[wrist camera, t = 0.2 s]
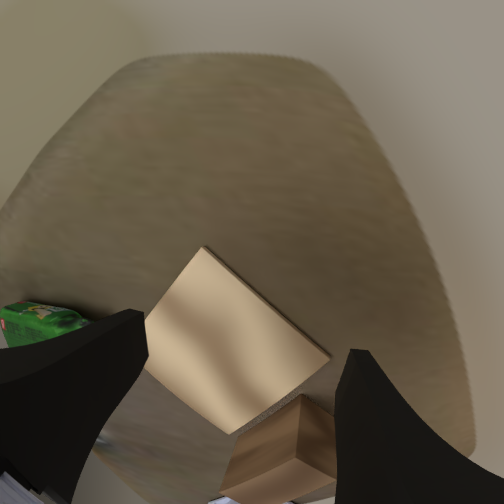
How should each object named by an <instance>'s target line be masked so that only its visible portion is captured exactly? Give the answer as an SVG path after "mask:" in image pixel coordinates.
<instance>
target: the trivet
mask: <svg viewBox="0 0 504 504" xmlns="http://www.w3.org/2000/svg"><path fill="white" fill-rule="evenodd" d="M145 329H146V337H147V344H148V351H149V357H148V359H147V361H146V363H145V365H144V368H145V369H146V370H147V371H148V372H149V373H150V374H152V375H153V376H154V377H155V378H156V379H157V380H158V381H160V382H161V383H162V384H163V385H164V386H165V387H167V388H168V389H169V390H170V391H171V392H172V393H174V394H175V395H176V396H177V397H179V398H180V399H181V400H182V401H184V402H185V403H186V404H187V405H189V406H190V407H191V408H192V409H194V410H195V411H196V412H198V413H199V414H200V415H202V416H203V417H204V418H206V419H207V420H208V421H210V422H211V423H213V424H214V425H215V426H217V427H218V428H220V429H221V430H222V431H224V432H225V433H227V434H228V435H229V434H231V433H232V432H234V431H235V430H237V429H238V428H240V427H241V426H243V425H244V424H246V423H247V422H249V421H250V420H252V419H253V418H255V417H256V416H258V415H259V414H261V413H262V412H263V411H265V410H266V409H268V408H269V407H270V406H272V405H273V404H275V403H276V402H277V401H279V400H280V399H281V398H283V397H284V396H285V395H287V394H288V393H289V392H291V391H292V390H293V389H295V388H296V387H297V386H299V385H300V384H301V383H302V382H304V381H305V380H306V379H307V378H309V377H310V376H311V375H312V374H314V373H315V372H316V371H317V370H319V369H320V368H321V367H322V366H323V365H325V364H326V363H327V362H328V361H329V360H330V356H329V355H328V354H327V353H326V352H325V351H323V350H322V349H321V348H320V347H319V346H317V345H316V344H315V343H314V342H313V341H312V340H310V339H309V338H308V337H307V336H306V335H304V334H303V333H302V332H301V331H300V330H299V329H297V328H296V327H295V326H294V325H293V324H292V323H291V322H289V321H288V320H287V319H286V318H285V317H284V316H282V315H281V314H280V313H279V312H278V311H277V310H276V309H274V308H273V307H272V306H271V305H270V304H269V303H267V302H266V301H265V300H264V299H263V298H262V297H261V296H259V295H258V294H257V293H256V292H255V291H254V290H253V289H252V288H250V287H249V286H248V285H247V284H246V283H245V282H244V281H243V280H241V279H240V278H239V277H238V276H237V275H236V274H235V273H234V272H232V271H231V270H230V269H229V268H228V267H227V266H226V265H225V264H224V263H222V262H221V261H220V260H219V259H218V258H217V257H216V256H215V255H214V254H212V253H211V252H210V251H209V250H208V249H207V248H206V247H205V246H203V247H201V249H200V250H199V251H198V252H197V254H196V255H195V256H194V257H193V259H192V260H191V261H190V262H189V264H188V265H187V266H186V268H185V269H184V270H183V271H182V273H181V274H180V275H179V276H178V278H177V279H176V280H175V282H174V283H173V284H172V286H171V287H170V288H169V289H168V291H167V292H166V293H165V295H164V296H163V297H162V299H161V300H160V301H159V302H158V304H157V305H156V306H155V308H154V309H153V310H152V312H151V313H150V314H149V316H148V317H147V318H146V320H145Z"/></svg>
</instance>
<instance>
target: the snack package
mask: <svg viewBox="0 0 504 504" xmlns="http://www.w3.org/2000/svg"><path fill="white" fill-rule="evenodd" d="M91 323H94V321H93V320H90V319H88V318H82V317H81V315H80V314H78V313H77V312H75V311H73V310H69V309H66V308H60V307H54V306H49V305H44V304H37V303H32V302H27V301H22V302H17V303H14V304H11V305H8V306H5V307H3V308H2V309H1V311H0V324H1V328H2V331H3V334H4V337H5V339H6V341H7V344H8V347H9V348H10V347H16V346H22V345H28V344H32V343H36V342H40V341H44V340H47V339H51V338H54V337H57V336H60V335H63V334H65V333H68V332H71V331H73V330H76V329H79V328H81V327H84V326H86V325H89V324H91Z"/></svg>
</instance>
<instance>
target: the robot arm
mask: <svg viewBox="0 0 504 504" xmlns="http://www.w3.org/2000/svg"><path fill="white" fill-rule="evenodd" d="M148 357H149V351H148V344H147V337H146V329H145V320H144V312H141V311H137V310H133V309H127V310H123V311H121V312H118V313H115V314H113V315H110V316H108V317H106V318H103V319H101V320H98V321H96V322H94V323H91V324H89V325H86V326H84V327H81V328H79V329H76V330H73V331H71V332H68V333H65V334H63V335H60V336H57V337H54V338H51V339H47V340H44V341H40V342H36V343H32V344H28V345H22V346H16V347H10V348H4V349H0V504H45V503H43V502H42V501H40V500H39V499H38V498H37V497H35V496H34V495H33V494H31V493H30V492H29V490H30V489H32V490H33V491H35V492H36V493H37V494H39V495H40V494H41V493H42V494H44V495H45V496H46V497H48V498H49V499H51V500H52V501H54V502H55V503H56V504H71V502H72V498H73V495H74V491H75V489H76V485H77V482H78V480H79V477H80V474H81V472H82V469H83V467H84V464H85V462H86V460H87V458H88V455H89V453H90V451H91V449H92V447H93V445H94V443H95V441H96V439H97V437H98V435H99V433H100V432H101V430H102V428H103V426H104V424H105V423H106V421H107V420H108V418H109V417H110V415H111V414H112V413H113V411H114V410H115V409H116V407H117V406H118V404H119V403H120V402H121V400H122V399H123V398H124V396H125V395H126V393H127V392H128V391H129V389H130V388H131V387H132V385H133V384H134V382H135V381H136V380H137V378H138V377H139V375H140V373H141V371H142V369H143V367H144V365H145V363H146V361H147V359H148ZM334 423H335V439H336V457H337V485H336V495H335V504H504V478H501V477H499V476H497V475H495V474H493V473H491V472H489V471H487V470H485V469H484V468H482V467H480V466H479V465H477V464H476V463H474V462H472V461H471V460H469V459H468V458H466V457H465V456H463V455H462V454H461V453H459V452H458V451H457V450H455V449H454V448H453V447H452V446H450V445H449V444H448V443H447V442H445V441H444V440H443V439H442V438H441V437H440V436H439V435H437V434H436V433H435V432H434V431H433V430H432V429H431V428H430V427H429V426H428V425H427V424H426V423H425V422H424V421H423V420H422V419H421V418H420V417H419V416H418V415H417V413H416V412H415V411H414V410H413V409H412V408H411V406H410V405H409V404H408V403H407V402H406V401H405V399H404V398H403V397H402V396H401V394H400V393H399V392H398V391H397V389H396V388H395V387H394V385H393V384H392V383H391V381H390V380H389V379H388V377H387V376H386V375H385V373H384V372H383V370H382V369H381V368H380V366H379V365H378V363H377V362H376V361H375V359H374V358H373V356H372V355H371V354H370V352H369V351H368V350H359V349H350V352H349V355H348V358H347V361H346V364H345V367H344V370H343V373H342V376H341V378H340V381H339V384H338V387H337V389H336V393H335V411H334ZM208 504H240V503H238V502H236V501H234V500H232V499H230V498H228V497H226V496H225V497H222V498H219V499H216V500H213V501H210V502H208ZM283 504H294V503H292V502H289V501H288V502H286V503H283Z"/></svg>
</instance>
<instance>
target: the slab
mask: <svg viewBox="0 0 504 504" xmlns="http://www.w3.org/2000/svg"><path fill="white" fill-rule="evenodd" d="M336 480H337V467H336V440H335V423H334V417H333V416H331V415H330V414H329V413H327V412H326V411H324V410H323V409H322V408H320V407H319V406H317V405H316V404H315V403H313V402H312V401H311V400H309V399H308V398H307V397H305V396H304V395H303V394H300V395H299V396H297V397H296V398H295V399H293V400H292V401H290V402H289V403H288V404H286V405H285V406H284V407H282V408H281V409H279V410H278V411H276V412H275V413H274V414H272V415H271V416H269V417H268V418H266V419H265V420H263V421H262V422H260V423H259V424H257V425H256V426H254V427H253V428H251V429H250V430H248V431H246V432H245V433H243V434H242V435H240V436H238V439H237V442H236V445H235V448H234V451H233V454H232V457H231V459H230V462H229V465H228V468H227V471H226V474H225V476H224V479H223V482H222V485H221V488H220V490H219V493H221V494H222V495H224V496H226V497H228V498H230V499H232V500H234V501H236V502H238V503H240V504H283V503H286V502H288V501H291V500H293V499H296V498H298V497H301V496H303V495H305V494H308V493H310V492H312V491H315V490H317V489H319V488H321V487H323V486H325V485H328V484H330V483H332V482H334V481H336Z"/></svg>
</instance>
